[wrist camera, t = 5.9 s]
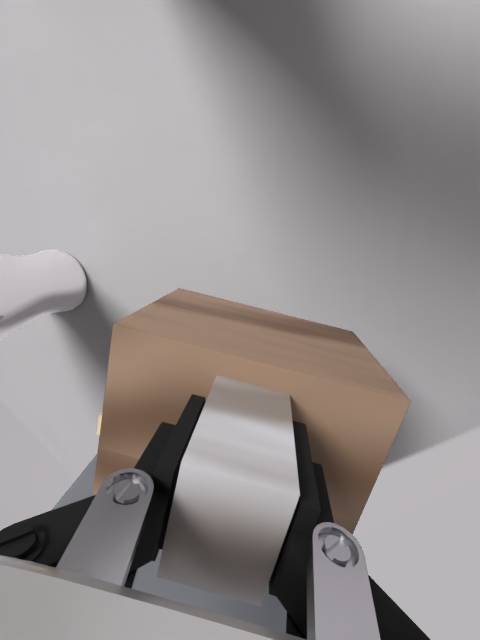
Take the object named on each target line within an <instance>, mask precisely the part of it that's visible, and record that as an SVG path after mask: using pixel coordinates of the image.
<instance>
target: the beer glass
mask: <svg viewBox="0 0 480 640" xmlns="http://www.w3.org/2000/svg"><path fill="white" fill-rule="evenodd" d="M86 292H87V279H86V275H85V272H84V270H83V268H82V267H81V265H80V264H79V262H78V261H77V260H76V259H75V258H74V257H72V256H71V255H70V254H68V253H66V252H64V251H61V250H56V249H47V250H42V251H39V252H36V253H33V254H30V255H25V256H16V255H8V254H1V253H0V340H2V339H4V338H5V337H7V336H9V335H11V334H12V333H14V332H16V331H17V330H19V329H21V328H22V327H24V326H25V325H27V324H28V323H30V322H32V321H33V320H35V319H37V318H38V317H40V316H42V315H45V314H48V313H57V312H65V311H69V310H72V309H74V308H76V307H77V306H78V305H80V304H81V302H82V301H83V300H84V298H85V295H86Z"/></svg>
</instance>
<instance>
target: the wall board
mask: <svg viewBox="0 0 480 640" xmlns="http://www.w3.org/2000/svg"><path fill="white" fill-rule="evenodd" d="M101 421H102V413H101V414H100V415H99V419H98V427H97V435H100V429H101ZM96 463H97V455H96V456H95V457H94V459H93V460H92V461H91V462H90V463H89V465H88V466H87V467H86V468H85V470H84V471H83V472H82V473H81V475H80V476H79V477H78V478H77V480H76V481H75V482H74V483H73V484H72V486H71V487H70V488H69V489H68V491H67V492H66V493H65V494H64V496H63V497H62V498H61V500H60V501H59V502H58V503H57V504H56V505H55V507H54V508H53V509H52V510H54V509H57V508H60V507H63V506H65V505H68V504H71V503H74V502H77V501H79V500H82V499H85V498H88V497H91V496H93V488H94V479H95V471H96ZM161 554H162V550H161V549H159V552H158V555H157V558H156V560H155V561H151V562H149V563H147V564H145V565H143V566H142V567H140V568H139V569H138V574H137V577H136V580H135V583H134V587H133V589H135V590H138V591H142V592H145V593H149V594H152V595H156V596H159V597H163V598H166V599H170V600H173V601H177V602H180V603H184V604H187V605H191V606H194V607H197V608H201V609H204V610H208V611H211V612H215V613H218V614H222V615H225V616H228V617H232V618H235V619H239V620H242V621H245V622H249V623H252V624H256V625H259V626H263V627H266V628H269V629H273V630H276V631H280V632H281V626H282V613H283V608H284V607H283V605H282V604H281V602H280V601H279V600H278V598H277V597H276V596H273V595H270V594H269V583H268V586H267V588H266V591H265V594H264V597H263V600H262V602H261V605H260V607H259V606H256V605H252V604H249V603H245V602H242V601H239V600H235V599H232V598H228V597H225V596H221V595H218V594H214V593H211V592H207V591H204V590H201V589H197V588H194V587H190V586H187V585H183V584H180V583H176V582H173V581H169V580H166V579H163V578H159V577H157V573H158V568H159V563H160V559H161Z"/></svg>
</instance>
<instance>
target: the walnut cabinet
mask: <svg viewBox="0 0 480 640" xmlns="http://www.w3.org/2000/svg"><path fill="white" fill-rule="evenodd" d="M192 394H194V395H198V396H202V397H205V401H206V403H205V405H204V408H203V410H202V412H201V415H200V417H199V420H198V422H197V425H196V427H195V430H194V432H193V434H192V437H191V439H190V442H189V444H188V447H187V449H186V452H185V454H184V456H183V459H182V461H181V465H180V470H179V474H178V479H177V484H176V488H175V493H174V498H173V502H172V507H171V512H170V517H169V521H168V526H167V531H166V535H165V540H164V545H163V549H162V554H161V559H160V563H159V568H158V573H157V577H159V578H163V579H166V580H169V581H173V582H176V583H180V584H183V585H187V586H190V587H194V588H197V589H201V590H204V591H207V592H211V593H214V594H218V595H221V596H225V597H228V598H232V599H235V600H239V601H242V602H245V603H249V604H252V605H256V606H259V607H260V605H261V602H262V600H263V597H264V594H265V591H266V588H267V586H268V583H269V580H270V577H271V575H272V572H273V569H274V566H275V563H276V561H277V558H278V555H279V552H280V550H281V547H282V544H283V541H284V538H285V536H286V533H287V530H288V527H289V524H290V522H291V519H292V516H293V513H294V511H295V508H296V505H297V502H298V499H299V497H300V489H299V480H298V470H297V460H296V451H295V441H294V431H293V422H292V420H293V421H297V422H300V423H304V424H306V429H307V434H308V440H309V446H310V452H311V457H312V462H315V463H319V464H321V465H322V468H323V473H324V477H325V482H326V487H327V491H328V496H329V501H330V505H331V510H332V515H333V520H334V523H335V524H337V525H339V526H341V527H343V528H345V529H346V530H347V531H349V532H350V533H351V534H353V532H354V530H355V527H356V525H357V523H358V521H359V518H360V516H361V514H362V511H363V509H364V507H365V504H366V502H367V500H368V498H369V496H370V493H371V491H372V489H373V486H374V484H375V482H376V480H377V477H378V475H379V473H380V471H381V468H382V466H383V464H384V461H385V459H386V457H387V455H388V452H389V450H390V448H391V445H392V443H393V441H394V439H395V436H396V434H397V432H398V430H399V427H400V425H401V423H402V420H403V418H404V416H405V414H406V411H407V409H408V407H409V405H410V402H411V401H410V399H409V398H408V397H407V396H406V395H405V393H404V392H403V391H402V390H401V389H400V387H399V386H398V385H397V384H396V383H395V381H394V380H393V379H392V378H391V377H390V375H389V374H388V373H387V372H386V371H385V370H384V368H383V367H382V366H381V365H380V364H379V362H378V361H377V360H376V359H375V358H374V356H373V355H372V354H371V353H370V352H369V350H368V349H367V348H366V347H365V346H364V344H363V343H362V342H361V341H360V340H359V339H358V337H357V336H356V335H355V334H354V333H353V332H352V331H348V330H344V329H340V328H336V327H332V326H328V325H324V324H320V323H316V322H312V321H308V320H304V319H300V318H296V317H292V316H288V315H284V314H280V313H276V312H272V311H268V310H264V309H260V308H256V307H252V306H248V305H244V304H240V303H236V302H232V301H228V300H224V299H220V298H216V297H212V296H208V295H204V294H200V293H196V292H192V291H188V290H184V289H180V288H179V289H177V290H175V291H173V292H171V293H170V294H168V295H166V296H164V297H162V298H160V299H159V300H157V301H155V302H153V303H151V304H149V305H148V306H146V307H144V308H142V309H140V310H138V311H137V312H135V313H133V314H131V315H129V316H127V317H126V318H124V319H122V320H120V321H118V322H116V323H115V324H113V329H112V337H111V345H110V354H109V362H108V370H107V379H106V387H105V396H104V404H103V412H102V421H101V429H100V437H99V446H98V454H97V463H96V471H95V479H94V488H93V495H96V494H97V492H98V490H99V489H100V487H101V485H102V483H103V482H104V480H105V479H106V478H107V477H108V476H109V475H111V474H112V473H113V472H116V471H118V470H121V469H127V468H133V469H134V467H135V465H136V464H137V462H138V460H139V459H140V457H141V455H142V454H143V452H144V450H145V449H146V447H147V445H148V444H149V442H150V440H151V439H152V437H153V435H154V434H155V432H156V430H157V429H158V427H159V425H160V424H161V423H162V422H166V423H170V424H173V425H176V424H177V422H178V420H179V418H180V416H181V414H182V412H183V410H184V408H185V406H186V405H187V403H188V401H189V399H190V397H191V395H192Z"/></svg>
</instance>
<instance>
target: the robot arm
mask: <svg viewBox="0 0 480 640" xmlns="http://www.w3.org/2000/svg"><path fill="white" fill-rule="evenodd" d="M205 403H206V401H205V397H202V396H198V395H194V394H192V395H191V397H190V399H189V401H188V403H187V405H186V406H185V408H184V410H183V412H182V414H181V416H180V418H179V420H178V422H177V424H176V425H173V424H170V423H166V422H162V423H161V424H160V425H159V427H158V429H157V430H156V432H155V434H154V435H153V437H152V439H151V440H150V442H149V444H148V445H147V447H146V449H145V450H144V452H143V454H142V455H141V457H140V459H139V460H138V462H137V464H136V465H135V467H134V469H133V468H127V469H121V470H118V471H116V472H113V473H112V474H111V475H109V476H108V477H107V478H106V479H105V480H104V482H103V483H102V485H101V487H100V489H99V490H98V492H97V494H96V495H93V496H91V497H88V498H85V499H82V500H79V501H77V502H74V503H71V504H68V505H65V506H63V507H60V508H57V509H54V510H51V511H49V512H46V513H43V514H40V515H37V516H35V517H32V518H29V519H26V520H23V521H21V522H18V523H15V524H13V525H11V526H9V527H6V528H4V529H3V530H1V531H0V640H430V639H429V638H428V637H427V636H426V634H424V632H423V631H422V630H421V629H420V628H419V627H418V626H417V625H416V624H415V623H414V622H413V621H412V620H411V619H410V618H409V617H408V616H407V615H406V614H405V613H404V612H403V611H402V610H401V609H400V608H399V606H397V604H396V603H395V602H394V601H393V600H392V599H391V598H390V597H389V596H388V595H387V594H386V593H385V592H384V591H383V590H382V589H381V588H380V587H379V586H378V585H377V584H376V583H375V581H374V580H373V579H371V577H370V576H369V575H368V572H367V567H366V562H365V557H364V553H363V550H362V547H361V546H360V544H359V543H358V541H357V539H356V538H355V537H354V536H353V535H352V534H351V533H350V532H349V531H347V530H346V529H345V528H343V527H341V526H339V525H337V524H335V523H334V520H333V515H332V510H331V505H330V501H329V496H328V491H327V487H326V482H325V477H324V473H323V468H322V465H321V464H319V463H315V462H312V457H311V452H310V446H309V440H308V434H307V429H306V424H304V423H300V422H297V421H293V420H292V422H293V431H294V441H295V451H296V460H297V470H298V480H299V489H300V497H299V499H298V502H297V505H296V508H295V511H294V513H293V516H292V519H291V522H290V524H289V527H288V530H287V533H286V536H285V538H284V541H283V544H282V547H281V550H280V552H279V555H278V558H277V561H276V563H275V566H274V569H273V572H272V575H271V577H270V580H269V594H270V595H273V596H276V597H277V598H278V600H279V601H280V602H281V604H282V605H283V607H284V608H283V613H282V626H281V632H280V631H276V630H273V629H269V628H266V627H263V626H259V625H256V624H252V623H249V622H245V621H242V620H239V619H235V618H232V617H228V616H225V615H222V614H218V613H215V612H211V611H208V610H204V609H201V608H197V607H194V606H191V605H187V604H184V603H180V602H177V601H173V600H170V599H166V598H163V597H159V596H156V595H152V594H149V593H145V592H142V591H138V590H135V589H133V587H134V583H135V580H136V577H137V574H138V569H139V568H140V567H142V566H143V565H145V564H147V563H149V562H151V561H155V560H156V558H157V555H158V552H159V549H161V550H162V549H163V545H164V540H165V535H166V531H167V526H168V521H169V517H170V512H171V507H172V502H173V498H174V493H175V488H176V484H177V479H178V474H179V470H180V465H181V461H182V459H183V456H184V454H185V452H186V449H187V447H188V444H189V442H190V439H191V437H192V434H193V432H194V430H195V427H196V425H197V422H198V420H199V417H200V415H201V412H202V410H203V408H204V405H205Z"/></svg>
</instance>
